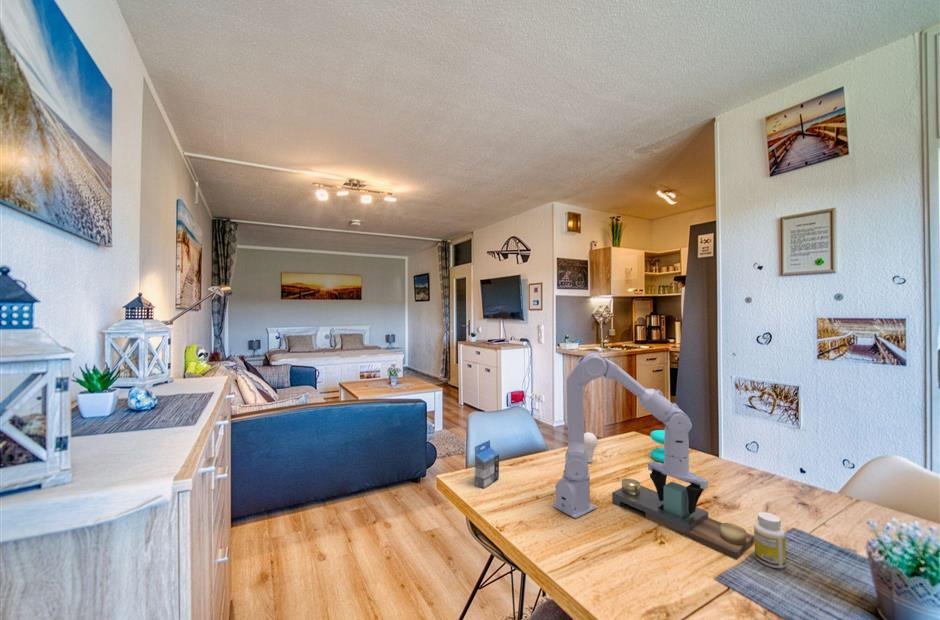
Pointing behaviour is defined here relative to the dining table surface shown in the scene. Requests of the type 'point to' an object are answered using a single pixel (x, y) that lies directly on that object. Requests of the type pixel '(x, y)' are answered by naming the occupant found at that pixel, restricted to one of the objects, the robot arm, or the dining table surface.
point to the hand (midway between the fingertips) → (676, 505)
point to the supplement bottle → (769, 541)
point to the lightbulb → (589, 445)
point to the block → (676, 499)
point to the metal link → (654, 504)
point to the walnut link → (715, 535)
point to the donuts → (659, 438)
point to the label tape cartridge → (486, 465)
